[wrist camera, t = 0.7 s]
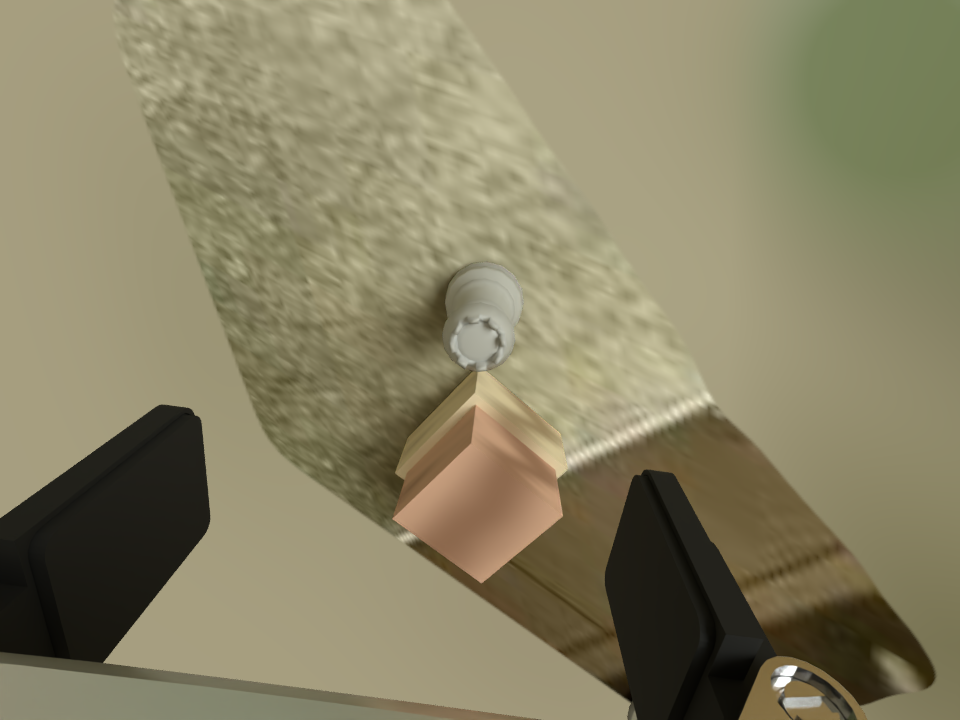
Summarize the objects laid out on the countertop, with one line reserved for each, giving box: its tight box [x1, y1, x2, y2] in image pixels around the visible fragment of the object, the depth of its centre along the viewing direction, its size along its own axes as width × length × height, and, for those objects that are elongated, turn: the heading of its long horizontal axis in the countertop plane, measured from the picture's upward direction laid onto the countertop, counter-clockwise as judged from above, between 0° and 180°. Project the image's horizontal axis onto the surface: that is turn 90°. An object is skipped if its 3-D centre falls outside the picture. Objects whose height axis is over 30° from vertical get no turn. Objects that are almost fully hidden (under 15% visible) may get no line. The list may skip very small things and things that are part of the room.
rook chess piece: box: [442, 262, 524, 372], centre depth 25 cm, size 4×4×8 cm
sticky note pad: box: [392, 371, 568, 583], centre depth 28 cm, size 7×7×8 cm
